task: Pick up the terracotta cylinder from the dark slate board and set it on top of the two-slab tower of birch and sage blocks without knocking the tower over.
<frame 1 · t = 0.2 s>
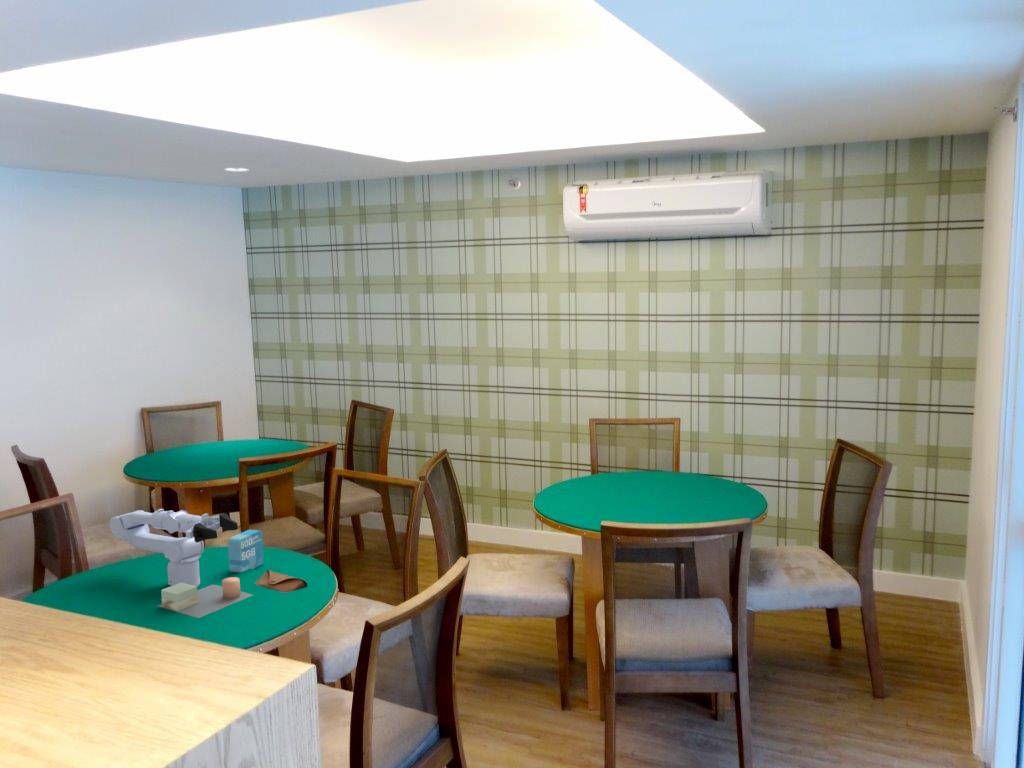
hand: (226, 530, 252), 21 cm above the table, tool horizontal, fingers open, 7 cm apart
birch base slab: (180, 604, 249), point 1 cm above the table, touching sage top slab, slate board
terracotta cylinder: (231, 596, 255), point 1 cm above the table, touching slate board
data package: (247, 569, 281), on the table
slate board: (206, 603, 252), on the table
sunglasses case: (278, 589, 264), on the table
sage top slab: (179, 596, 248), point 3 cm above the table, touching birch base slab
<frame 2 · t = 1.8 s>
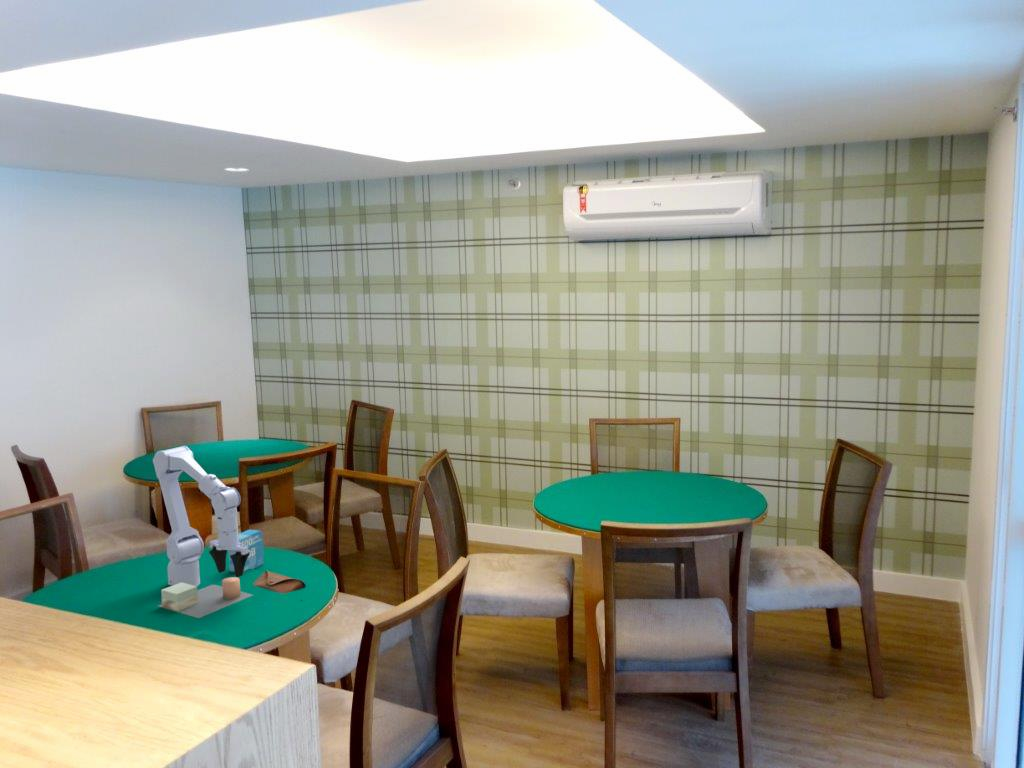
hand: (230, 573, 254), 8 cm above the table, tool pointing down, fingers open, 7 cm apart
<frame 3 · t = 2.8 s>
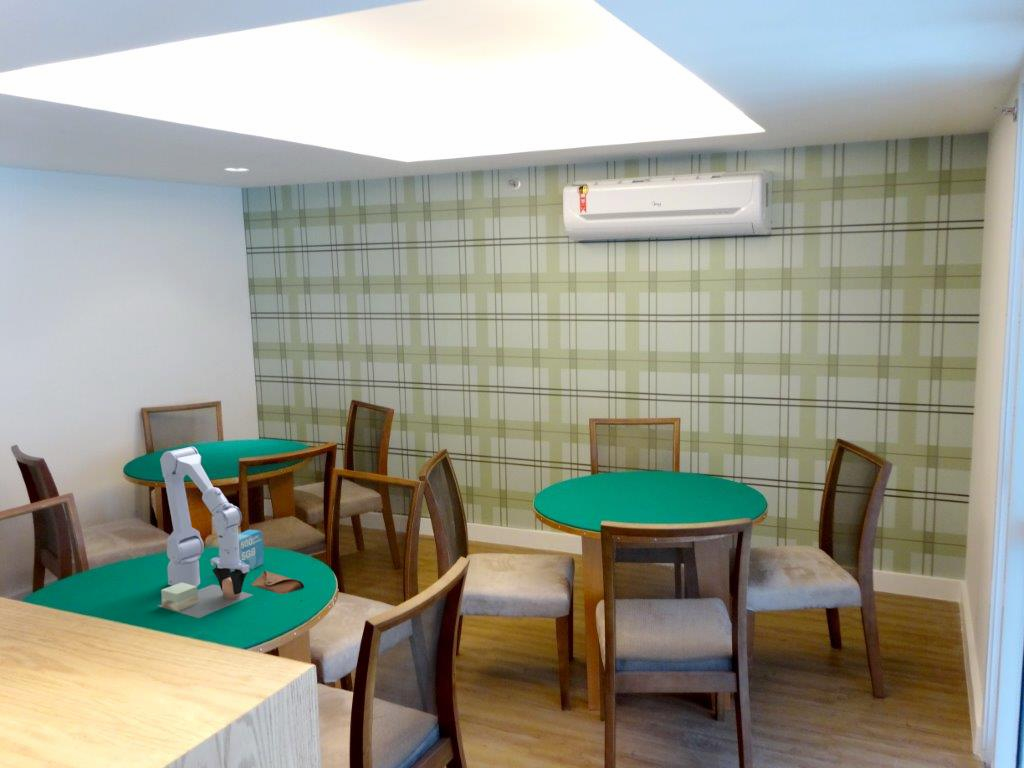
hand: (231, 591, 254), 2 cm above the table, tool pointing down, fingers closed on terracotta cylinder, 5 cm apart
terracotta cylinder: (231, 596, 255), point 1 cm above the table, touching gripper, slate board
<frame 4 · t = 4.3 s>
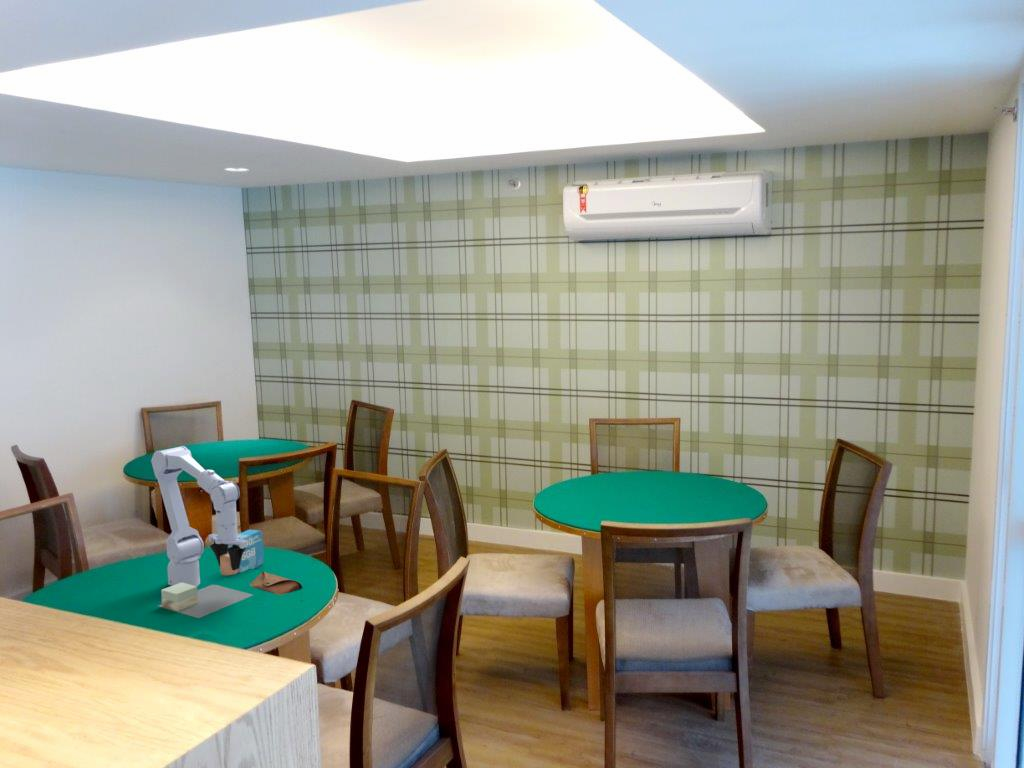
hand: (229, 567, 253), 10 cm above the table, tool pointing down, fingers closed on terracotta cylinder, 5 cm apart
terracotta cylinder: (229, 572, 254), point 8 cm above the table, touching gripper
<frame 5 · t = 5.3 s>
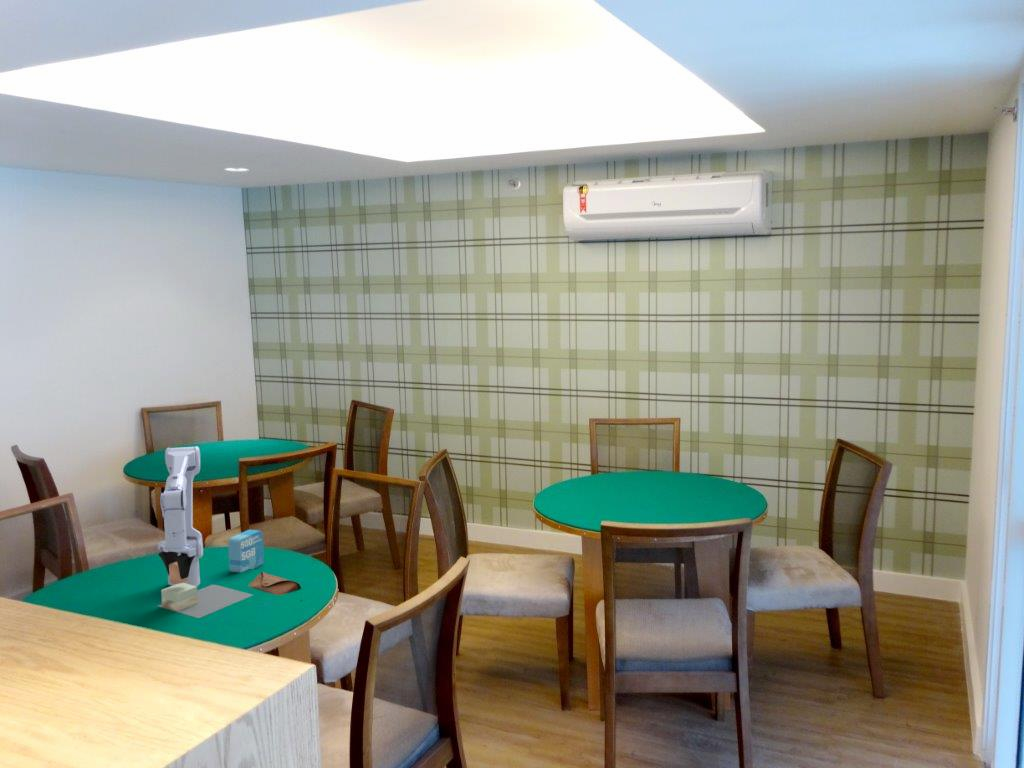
hand: (178, 576, 247), 10 cm above the table, tool pointing down, fingers closed on terracotta cylinder, 5 cm apart
terracotta cylinder: (179, 580, 248), point 8 cm above the table, touching gripper
when the fingers open (8 cm above the table, at t = 6.0 s): terracotta cylinder stays where it is, resting on sage top slab.
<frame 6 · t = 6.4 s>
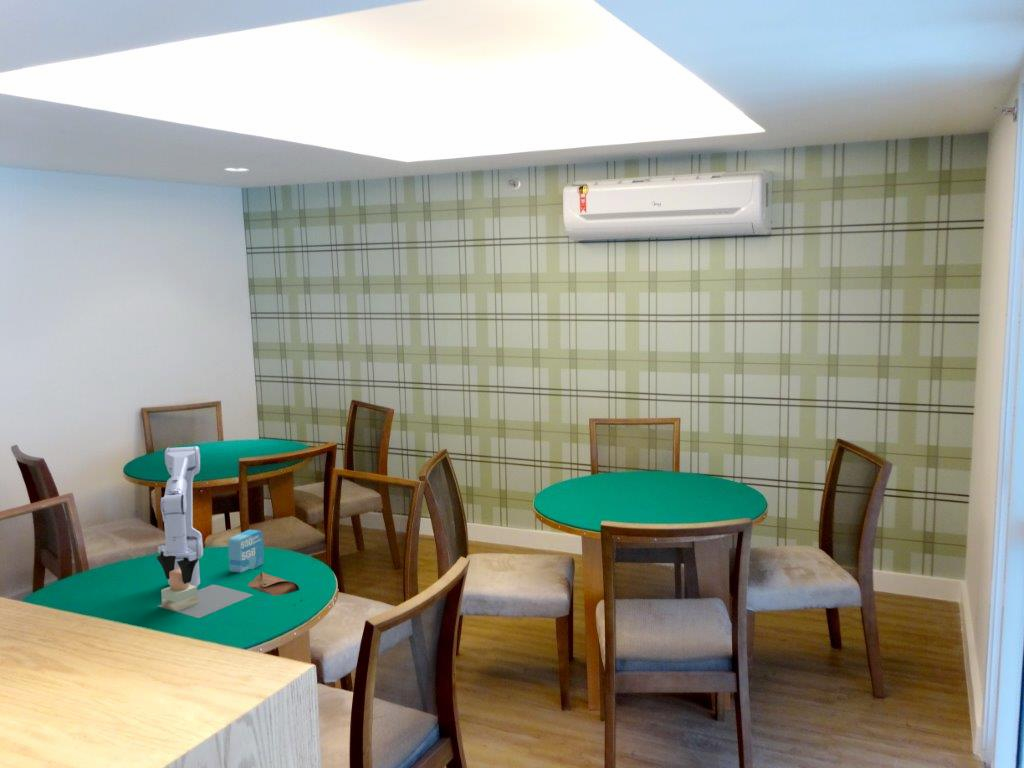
hand: (178, 580, 248), 8 cm above the table, tool pointing down, fingers open, 7 cm apart
terracotta cylinder: (179, 588, 248), point 6 cm above the table, touching sage top slab
sage top slab: (179, 596, 248), point 3 cm above the table, touching birch base slab, terracotta cylinder
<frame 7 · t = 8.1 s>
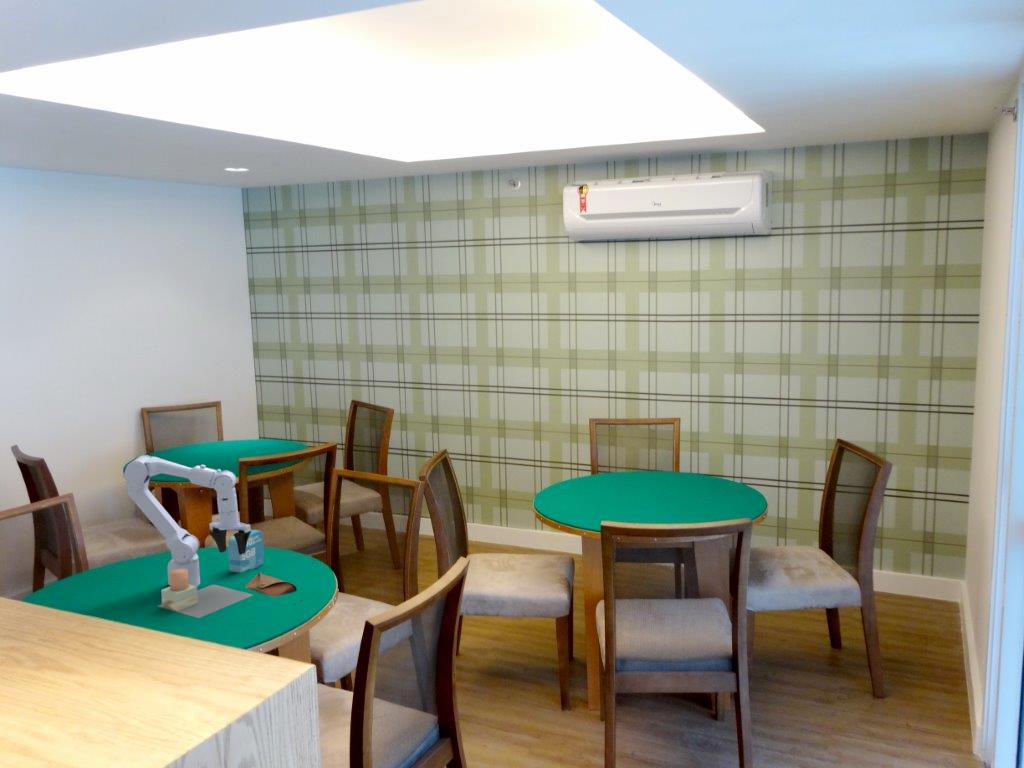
hand: (232, 552, 265), 10 cm above the table, tool pointing down, fingers open, 7 cm apart
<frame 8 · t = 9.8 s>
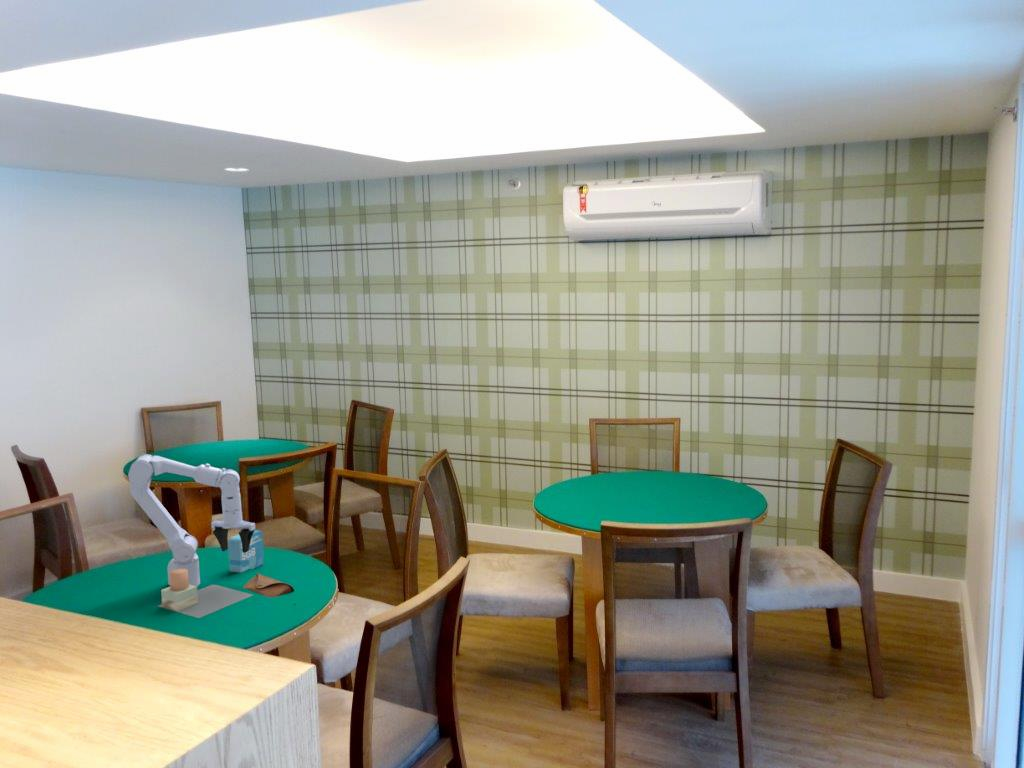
hand: (235, 551, 267), 10 cm above the table, tool pointing down, fingers open, 7 cm apart
at the end: terracotta cylinder 0.1 cm off-centre on the birch base slab, point 5.0 cm above the birch base slab's base; sage top slab 0.0 cm off-centre on the birch base slab, point 2.5 cm above the birch base slab's base; terracotta cylinder tilted 0° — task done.
